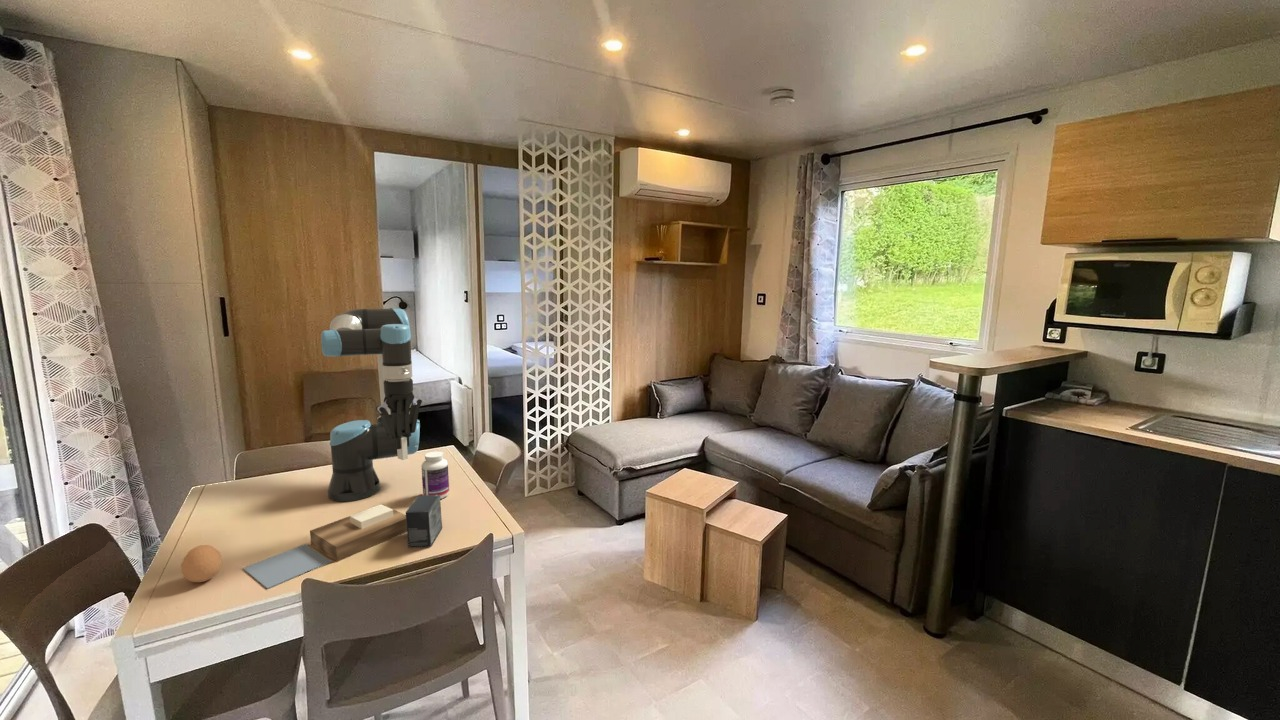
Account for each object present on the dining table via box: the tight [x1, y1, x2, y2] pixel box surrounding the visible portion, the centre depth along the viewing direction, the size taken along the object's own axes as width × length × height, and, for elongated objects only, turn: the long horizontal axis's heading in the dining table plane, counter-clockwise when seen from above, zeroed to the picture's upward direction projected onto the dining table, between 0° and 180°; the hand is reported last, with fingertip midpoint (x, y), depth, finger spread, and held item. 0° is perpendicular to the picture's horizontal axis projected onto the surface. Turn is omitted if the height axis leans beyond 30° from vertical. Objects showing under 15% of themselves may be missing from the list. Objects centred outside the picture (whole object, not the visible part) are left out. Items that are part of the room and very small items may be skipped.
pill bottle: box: [420, 451, 450, 500], centre depth 168 cm, size 8×8×14 cm
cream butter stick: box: [349, 503, 394, 529], centre depth 144 cm, size 6×9×2 cm, turn 146°
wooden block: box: [309, 503, 407, 562], centre depth 142 cm, size 14×20×4 cm
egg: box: [180, 544, 223, 583], centre depth 121 cm, size 7×7×8 cm
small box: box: [405, 494, 443, 549], centre depth 142 cm, size 11×6×10 cm, turn 5°
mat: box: [242, 543, 332, 590], centre depth 128 cm, size 14×14×1 cm
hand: (402, 458), depth 150 cm, fingers closed
